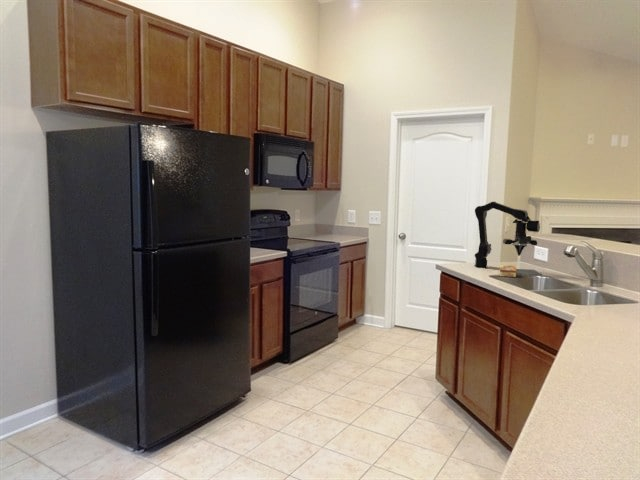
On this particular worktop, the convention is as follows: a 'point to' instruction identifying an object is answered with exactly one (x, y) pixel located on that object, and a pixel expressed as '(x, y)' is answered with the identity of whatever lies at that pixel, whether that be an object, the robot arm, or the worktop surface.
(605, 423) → the worktop surface
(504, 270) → the candy box
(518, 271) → the mat
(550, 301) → the worktop surface
